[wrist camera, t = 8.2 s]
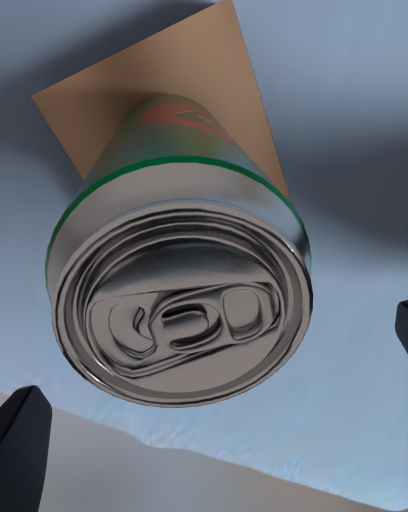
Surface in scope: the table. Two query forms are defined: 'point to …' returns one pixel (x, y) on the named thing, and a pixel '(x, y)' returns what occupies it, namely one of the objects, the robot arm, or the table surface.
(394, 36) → the table surface
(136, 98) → the tan block
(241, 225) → the soda can
